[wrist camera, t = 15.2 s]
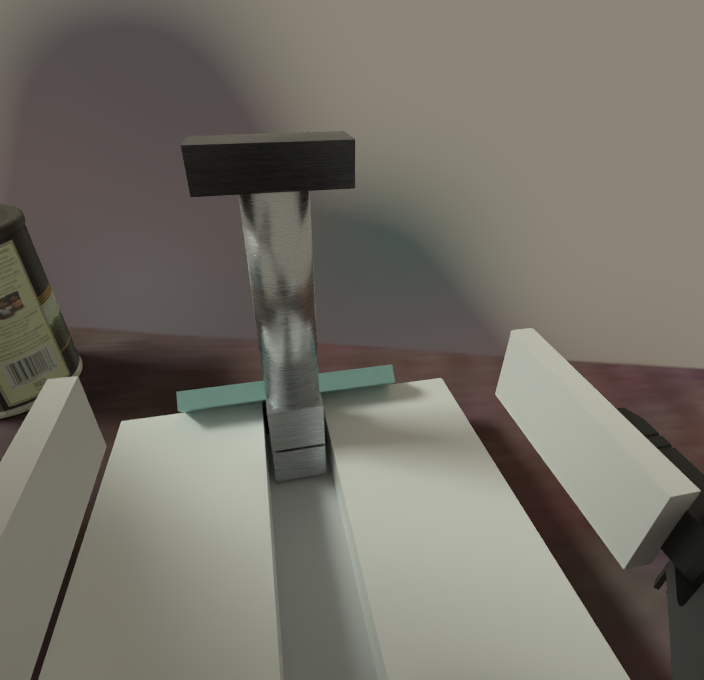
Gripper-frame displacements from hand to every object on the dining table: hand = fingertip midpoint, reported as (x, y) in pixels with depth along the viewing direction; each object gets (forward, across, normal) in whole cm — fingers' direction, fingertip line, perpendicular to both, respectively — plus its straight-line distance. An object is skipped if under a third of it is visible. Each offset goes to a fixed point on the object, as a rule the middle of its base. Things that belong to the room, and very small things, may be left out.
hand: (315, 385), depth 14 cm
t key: (+10, 0, -14) cm, 17 cm away
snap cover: (+14, 0, -13) cm, 19 cm away
